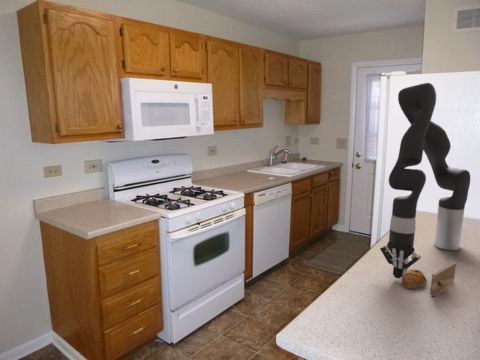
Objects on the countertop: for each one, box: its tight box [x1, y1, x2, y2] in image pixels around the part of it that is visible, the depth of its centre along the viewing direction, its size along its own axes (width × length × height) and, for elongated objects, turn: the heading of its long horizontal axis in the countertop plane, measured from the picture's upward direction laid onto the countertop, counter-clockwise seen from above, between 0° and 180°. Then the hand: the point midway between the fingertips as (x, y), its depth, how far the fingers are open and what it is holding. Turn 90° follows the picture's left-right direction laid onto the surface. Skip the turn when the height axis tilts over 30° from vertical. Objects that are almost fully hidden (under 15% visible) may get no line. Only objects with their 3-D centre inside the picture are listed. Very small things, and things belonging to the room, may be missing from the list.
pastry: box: [401, 269, 427, 290], centre depth 117 cm, size 9×7×4 cm
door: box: [429, 261, 457, 297], centre depth 112 cm, size 2×14×7 cm, turn 126°
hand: (397, 277), depth 119 cm, fingers closed
